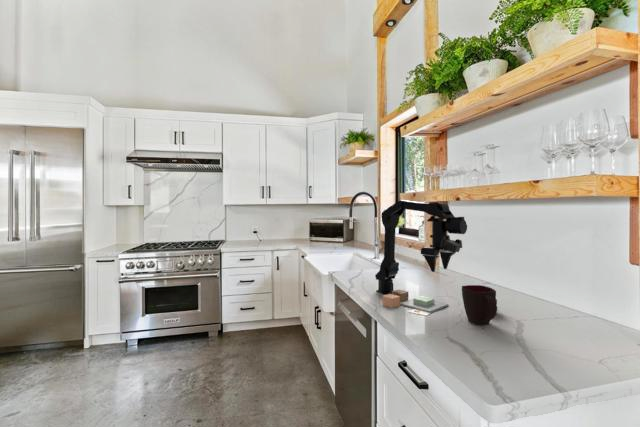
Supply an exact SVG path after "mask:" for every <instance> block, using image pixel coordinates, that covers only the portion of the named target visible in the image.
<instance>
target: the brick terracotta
mask: <svg viewBox="0 0 640 427" xmlns="http://www.w3.org/2000/svg"><path fill="white" fill-rule="evenodd" d="M400 303H401V302H400V296H397V295H393V294H392V293H389V294H384V295H382V306H383V307H388V308H391V309H393V308H396V307H400V306H401V305H400Z"/></svg>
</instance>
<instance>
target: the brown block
mask: <svg viewBox="0 0 640 427" xmlns="http://www.w3.org/2000/svg"><path fill="white" fill-rule="evenodd" d="M391 294H393V295H397V296H400V303H401V302H404V301H407V300H409V291H406V290H404V289H395V290H394V291H392V293H391Z"/></svg>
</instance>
